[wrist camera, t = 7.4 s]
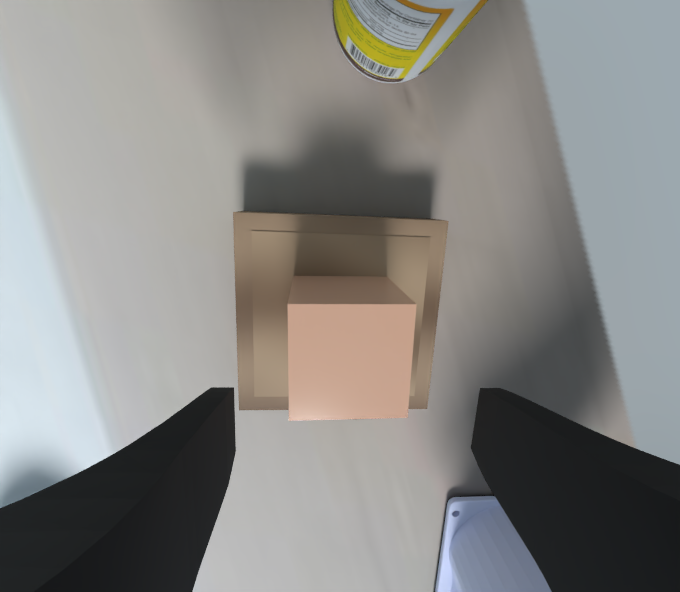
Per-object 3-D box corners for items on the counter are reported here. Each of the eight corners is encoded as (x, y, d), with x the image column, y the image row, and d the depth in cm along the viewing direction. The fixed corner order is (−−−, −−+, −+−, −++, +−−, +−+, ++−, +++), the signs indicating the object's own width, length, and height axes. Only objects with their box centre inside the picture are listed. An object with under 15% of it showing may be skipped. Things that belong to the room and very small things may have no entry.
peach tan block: (382, 362, 19) (407, 417, 14) (294, 363, 18) (289, 420, 13) (386, 276, 18) (416, 304, 13) (293, 275, 17) (287, 303, 12)
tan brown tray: (414, 386, 22) (427, 409, 20) (247, 386, 21) (238, 410, 19) (431, 218, 20) (448, 221, 17) (243, 211, 19) (233, 212, 16)
